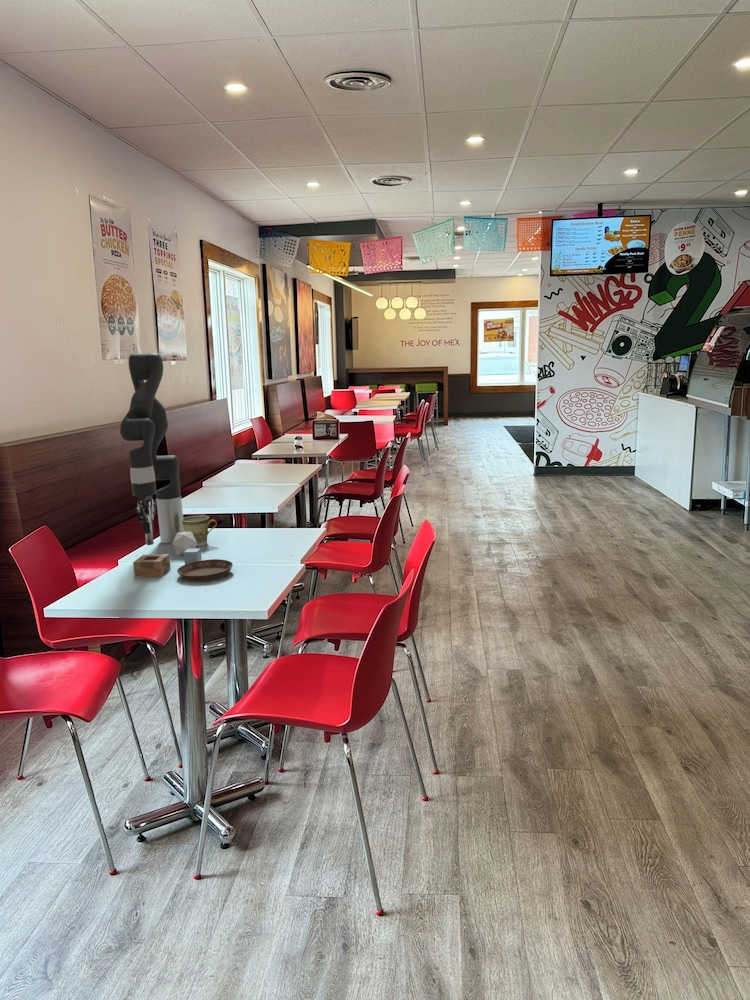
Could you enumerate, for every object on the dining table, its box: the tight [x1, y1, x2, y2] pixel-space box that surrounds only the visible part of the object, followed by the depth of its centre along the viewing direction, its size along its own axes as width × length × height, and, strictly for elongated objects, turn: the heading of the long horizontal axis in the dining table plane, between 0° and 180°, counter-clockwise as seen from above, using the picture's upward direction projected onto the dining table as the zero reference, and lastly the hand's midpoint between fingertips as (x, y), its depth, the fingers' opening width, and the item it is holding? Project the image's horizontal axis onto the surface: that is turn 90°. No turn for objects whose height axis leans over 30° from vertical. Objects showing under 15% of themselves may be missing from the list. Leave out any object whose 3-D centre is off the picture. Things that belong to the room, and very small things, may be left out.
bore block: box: [132, 553, 172, 578], centre depth 248 cm, size 9×9×5 cm
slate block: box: [183, 547, 203, 565], centre depth 256 cm, size 4×4×5 cm
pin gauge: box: [143, 512, 155, 546], centre depth 245 cm, size 2×2×12 cm
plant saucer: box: [176, 558, 233, 583], centre depth 243 cm, size 18×18×3 cm
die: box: [172, 532, 197, 556], centre depth 270 cm, size 8×9×10 cm
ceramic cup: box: [182, 515, 218, 547], centre depth 282 cm, size 13×10×10 cm
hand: (148, 532), depth 245 cm, fingers closed on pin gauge, 2 cm apart
